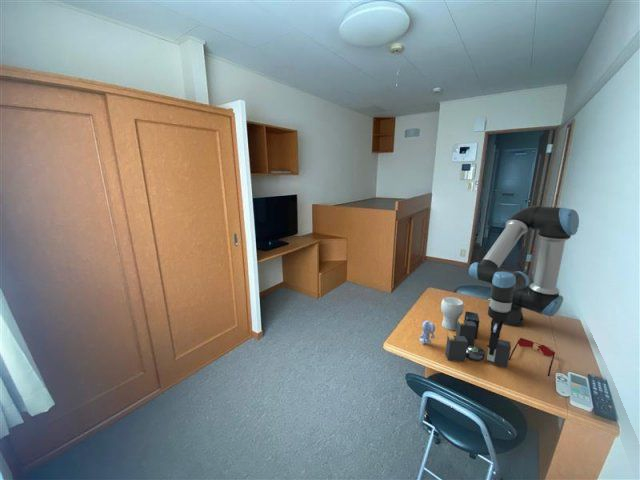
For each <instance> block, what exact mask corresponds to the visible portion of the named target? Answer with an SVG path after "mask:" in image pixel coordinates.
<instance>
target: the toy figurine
mask: <svg viewBox="0 0 640 480" xmlns="http://www.w3.org/2000/svg"><path fill="white" fill-rule="evenodd" d="M421 328H422V334H420V335H419V342H420V343H421V344H422V345H425V344H427V345H431V340H432V339H435V335H434V333H435V331H436V326H435V323H433V322H431V321H429V320H425V321H423V322H422V323H421ZM430 334H431V336H430ZM430 338H431V340H430Z"/></svg>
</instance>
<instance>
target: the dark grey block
mask: <svg viewBox="0 0 640 480" xmlns="http://www.w3.org/2000/svg"><path fill="white" fill-rule="evenodd" d="M467 344H468V341H467V340H466V338H465V336H456V334H453V333H452V332H447V337H446V345H445V357H446V360H447V361H452V362H461V363H465V362H466V351H467Z"/></svg>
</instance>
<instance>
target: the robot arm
mask: <svg viewBox="0 0 640 480" xmlns="http://www.w3.org/2000/svg"><path fill="white" fill-rule="evenodd" d="M579 224H580V218H579V214H578V211H576V210H575V209H573V208H567V207H559V206H557V207H555V206H554V207H553V206H540V205H532V206H527V207H524V208H522V209H521V210H519V211H517V212H515V213H514V214H513V215H512V216H511V217H509V218H508V219H507V221H506V222H505V228H504V229H503V230H502V232H501V234H500V235H499V236H498V237H497V239H496V240H495V242H494V243H493V245H492V246H491V247H490V249H489V250H488V251H487V253H486V255H485V256H484V257H483V258H482V260H481V261H480V262H476V261H475V262H473V263H472V264H470V266H469V269H468V274H469V276H470V277H471V278H473V279H476V280H478V281H482V282H485V283H488V284H491V290H490V297H489V298H488V299H487V300H488V301H489V304H488V310H487V316H488V317H489V318H491V322H490V334H489V340H488V344H486V347H488V348H487V349H488V350H487V355H486V360H487V361H488V360H490V361H492V362H494V360H495V354H496V345H497V339H500V335H501V331H502V328H503V325H507V326H510V327H511V326H512V327H519V326H522V325H523V324H524V321H525V320H524V319H525V318H524V315H523V308H524V309H526V310H529V311H531V312H534V313H537V314H540V315H542V316H546V317H553V316H555V315H556V314H557V313H558V311H559V310H560V308H561V306H562V305H563V302H564V297H563V296H562V295H561V294H560V289H558V288H557V283H558V278H559V275H560V270H561V264H562V259H563V255H564V254H563V253H564V248H565V243H566V242H567V241H568V240H570V239H571V238H572V237H571V236H574V235H576V234H577V232H578V228H579V226H580V225H579ZM529 230H534V231H538V233H537V236H538V237H539V238H540V239H541V240H540V243H539V244H540V245H539V252H538V257H537V263H536V267H535V274H534V278H533V279H534V280H533V283H531V284H529V283H530V279H529V278H530V277H529V276H528V275H527V274H526V273H524V272H523V271H518V270H517V271H509V270H505V269H502V268H500V267H501V266H502V264H503V262H504V261H505V260H506V258H507V257H508V256H509V254H510V252H511V251H512V249H513V248H514V247H515V246H516V244H517V242H518V241H519V240H520V238H521V237H522V235H525V234H526V233H528V231H529Z"/></svg>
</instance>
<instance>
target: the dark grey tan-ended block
mask: <svg viewBox="0 0 640 480" xmlns="http://www.w3.org/2000/svg"><path fill="white" fill-rule="evenodd" d="M511 348H512V346H511V342H510V341H507V340H503V339H500V338H499V339H497V345H496V354H495V360H494V362H492V361H490V360H487V363H489V364H493V365H496V366H500V367H503V368H507V369H508V365H509V361H510V360H509V357H510V355H511V350H512V349H511Z"/></svg>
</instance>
